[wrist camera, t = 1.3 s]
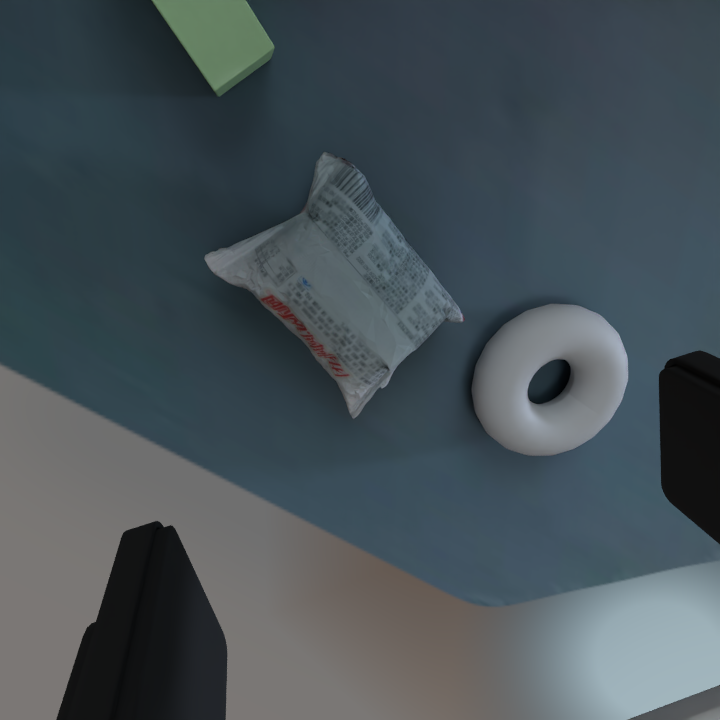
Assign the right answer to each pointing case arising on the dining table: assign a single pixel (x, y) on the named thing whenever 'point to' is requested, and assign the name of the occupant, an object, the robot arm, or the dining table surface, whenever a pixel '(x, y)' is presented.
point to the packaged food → (342, 282)
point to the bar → (219, 38)
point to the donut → (527, 355)
